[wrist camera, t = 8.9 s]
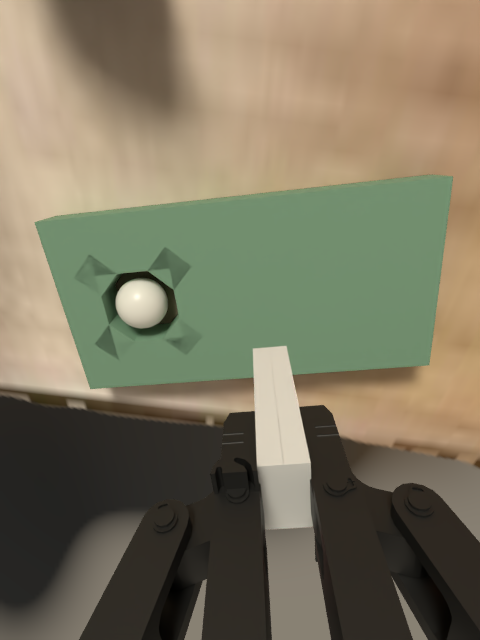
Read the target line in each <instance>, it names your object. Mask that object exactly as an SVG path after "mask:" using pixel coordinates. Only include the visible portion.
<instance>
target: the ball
mask: <svg viewBox="0 0 480 640" xmlns="http://www.w3.org/2000/svg"><path fill="white" fill-rule="evenodd" d="M167 309H168V298H167V295H166V292H165V290H164V289H163V288H162V286H161V285H160V284H158V283H157V282H155V281H154V280H151V279H148V278H135V279H132V280H130V281H128V282H126V283H125V284H124V285H123V286H122V287H121V288H120V289H119V291H118V293H117V296H116V310H117V312H118V315H119V316H120V318H121V319H122V320H123V321H124V322H125V323H126V324H128V325H130V326H132V327H135V328H149V327H152V326H154V325H156V324H158V323H159V322H160V321H161V320H162V319H163V318H164V316H165V315H166V312H167Z"/></svg>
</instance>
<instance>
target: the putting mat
mask: <svg viewBox="0 0 480 640" xmlns="http://www.w3.org/2000/svg"><path fill="white" fill-rule="evenodd" d="M452 181H453V176H442V175H423V176H414V177H405V178H396V179H387V180H378V181H369V182H360V183H351V184H342V185H333V186H324V187H314V188H305V189H296V190H287V191H278V192H269V193H260V194H251V195H242V196H233V197H224V198H215V199H206V200H197V201H188V202H179V203H169V204H160V205H151V206H142V207H133V208H124V209H115V210H106V211H97V212H88V213H79V214H70V215H61V216H55V217H51V218H48V219H44V220H41V221H37V222H35V225H36V228H37V231H38V234H39V237H40V240H41V243H42V246H43V249H44V252H45V255H46V258H47V261H48V264H49V267H50V270H51V273H52V276H53V279H54V282H55V285H56V288H57V291H58V294H59V297H60V300H61V303H62V306H63V309H64V312H65V315H66V318H67V320H68V323H69V326H70V329H71V332H72V335H73V338H74V341H75V344H76V347H77V350H78V353H79V356H80V359H81V362H82V365H83V368H84V371H85V374H86V377H87V380H88V383H89V386H90V389H97V388H112V387H126V386H140V385H154V384H169V383H183V382H197V381H212V380H226V379H240V378H254V370H253V349H255V348H266V347H278V346H287V351H288V356H289V361H290V366H291V370H292V375H297V374H312V373H326V372H340V371H355V370H369V369H383V368H397V367H412V366H426V365H429V363H430V355H431V347H432V339H433V331H434V323H435V315H436V307H437V300H438V292H439V284H440V276H441V268H442V260H443V252H444V244H445V237H446V229H447V221H448V213H449V205H450V197H451V189H452ZM141 271H148V272H150V273H151V274H152V275H154V276H155V277H157V278H158V279H159V280H161V281H162V282H163V283H165V284H166V285H167V286H169V287H170V288H172V289H173V290H174V294H175V299H176V304H177V310H178V315H177V316H176V317H175V318H174V320H173V321H172V322H171V323H165V324H156V325H154V326H152V327H149V328H135V327H132V326H130V325H128V324H126V323H125V322H124V321H123V320H122V319H121V318H120V316H119V315H118V312H117V310H116V296H117V293H118V292H117V289H116V285H115V284H116V282H117V281H118V279H119V278H120V276H121V275H122V273H131V272H141Z"/></svg>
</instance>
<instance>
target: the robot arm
mask: <svg viewBox="0 0 480 640" xmlns="http://www.w3.org/2000/svg"><path fill="white" fill-rule="evenodd" d="M253 370H254V398H255V411H251V412H238V413H230V414H229V416H228V417H227V419H226V420H225V422H224V427H223V440H222V453H221V459H220V460H218V461H217V462H216V464H215V465H214V466H213V468H212V471H211V474H210V475H211V479H212V485H213V490H214V491H213V492H212V493H211V494H210V495H208V496H207V497H206V498H204V499H202V500H200V501H198V502H195V503H192V504H190V505H187V506H185V505H184V504H183V503H182V502H181V501H178V500H175V499H168V500H164V501H161V502H158V503H157V504H155V505H154V506H152V507H151V508H150V509H149V510H148V511H147V513H146V514H145V515H144V517H143V519H142V521H141V523H140V525H139V527H138V529H137V530H136V532H135V534H134V536H133V538H132V540H131V542H130V544H129V546H128V548H127V549H126V551H125V553H124V555H123V557H122V559H121V561H120V563H119V565H118V566H117V569H116V570H115V572H114V574H113V576H112V578H111V580H110V582H109V584H108V586H107V588H106V589H105V591H104V593H103V595H102V597H101V599H100V601H99V603H98V605H97V606H96V608H95V610H94V612H93V614H92V616H91V618H90V620H89V622H88V624H87V626H86V627H85V629H84V631H83V633H82V635H81V637H80V639H79V640H184V638H185V635H186V632H187V629H188V626H189V622H190V619H191V616H192V613H193V610H194V607H195V603H196V600H197V597H198V594H199V591H200V588H201V584H202V581H203V580H205V579H207V584H206V597H205V608H204V618H203V630H202V640H272V635H271V616H270V599H269V581H268V564H267V563H268V562H267V547H266V538H265V530H267V529H268V530H269V529H286V528H304V527H314V533H315V555H316V556H315V557H316V558H315V559H316V562H318V565H319V571H320V577H321V583H322V589H323V594H324V600H325V606H326V612H327V617H328V623H329V629H330V635H331V640H413V638H412V636H411V633H410V630H409V627H408V624H407V621H406V618H405V615H404V612H403V609H402V606H401V603H400V600H399V597H398V594H397V591H396V588H395V586H394V582H393V580H394V581H395V583H396V585H397V586H398V588H399V590H400V592H401V593H402V595H403V597H404V599H405V600H406V602H407V604H408V605H409V607H410V609H411V611H412V612H413V614H414V616H415V618H416V619H417V621H418V623H419V625H420V626H421V628H422V630H423V632H424V633H425V635H426V637H427V638H428V640H480V542H479V541H478V540H477V539H476V538H475V536H474V535H473V534H472V533H471V532H470V531H469V530H468V528H467V527H466V526H465V525H464V524H463V523H462V521H461V520H460V519H459V518H458V517H457V516H456V514H455V513H454V512H453V511H452V510H451V509H450V508H449V506H448V505H447V504H446V503H445V502H444V501H443V499H442V498H441V497H440V496H439V495H438V494H436V493H435V492H434V491H433V490H431V489H429V488H427V487H425V486H423V485H418V484H414V483H408V484H402V485H400V486H399V487H397V488H396V489H395V490H394V492H388V491H384V490H379V489H375V488H372V487H369V486H367V485H365V484H364V483H362V482H361V481H360V480H358V479H357V478H356V477H355V476H354V474H353V473H352V471H351V469H350V467H349V464H348V461H347V457H346V454H345V451H344V448H343V445H342V442H341V439H340V436H339V433H338V430H337V427H336V424H335V421H334V418H333V415H332V413H331V412H330V411H329V410H328V409H327V408H326V407H325V406H324V405H319V406H305V407H299V404H298V399H297V394H296V390H295V385H294V380H293V375H292V370H291V366H290V361H289V356H288V351H287V346H278V347H266V348H255V349H253ZM391 576H392V577H391ZM392 578H393V579H392Z"/></svg>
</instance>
